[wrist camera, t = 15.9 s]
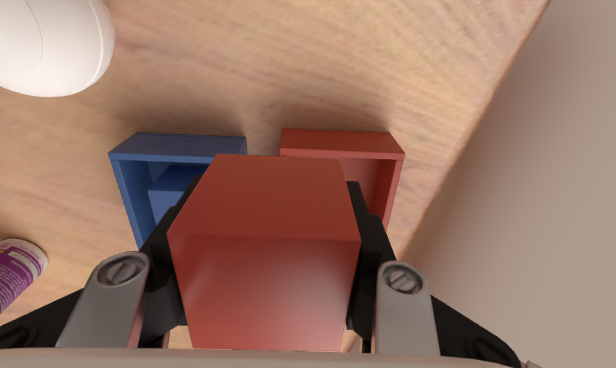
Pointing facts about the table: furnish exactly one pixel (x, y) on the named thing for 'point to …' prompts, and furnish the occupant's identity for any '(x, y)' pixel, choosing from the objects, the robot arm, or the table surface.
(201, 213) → the red block
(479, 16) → the table surface
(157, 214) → the blue block
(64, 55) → the spinning top
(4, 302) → the pill bottle
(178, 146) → the blue bin
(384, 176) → the red bin
